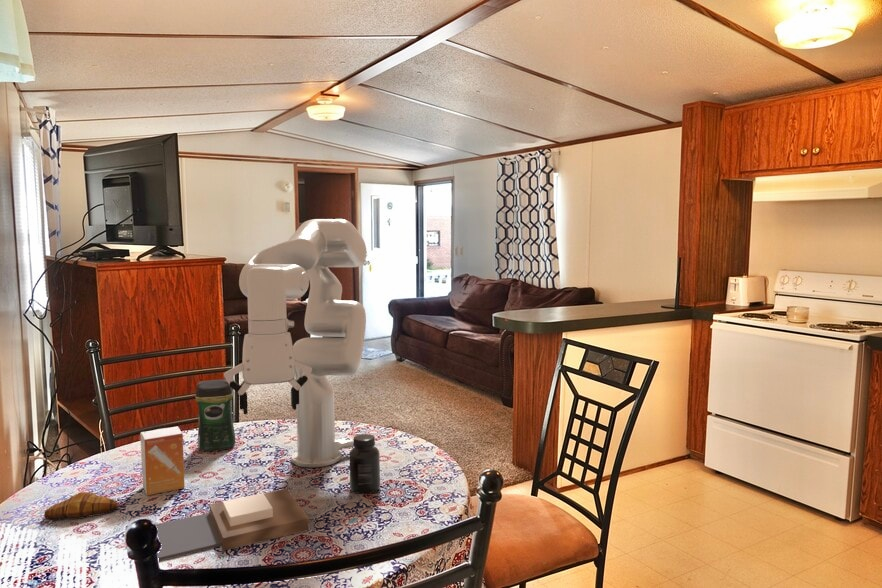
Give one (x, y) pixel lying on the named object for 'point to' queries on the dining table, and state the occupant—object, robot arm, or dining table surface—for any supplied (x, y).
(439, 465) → the dining table surface
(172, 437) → the small box
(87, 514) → the croissant
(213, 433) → the coffee jar
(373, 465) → the supplement bottle
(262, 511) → the block
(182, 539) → the mat
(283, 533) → the board
